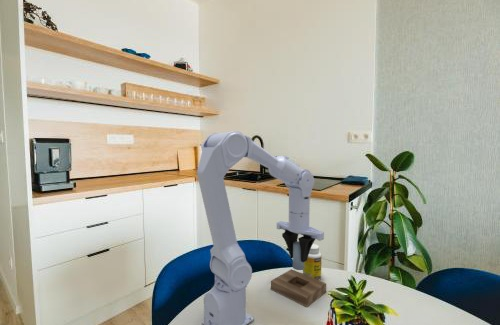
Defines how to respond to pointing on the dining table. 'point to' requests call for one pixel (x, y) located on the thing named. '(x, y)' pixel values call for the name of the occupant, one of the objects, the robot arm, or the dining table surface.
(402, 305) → the dining table surface
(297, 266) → the dowel
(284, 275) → the socket block
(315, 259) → the supplement bottle
